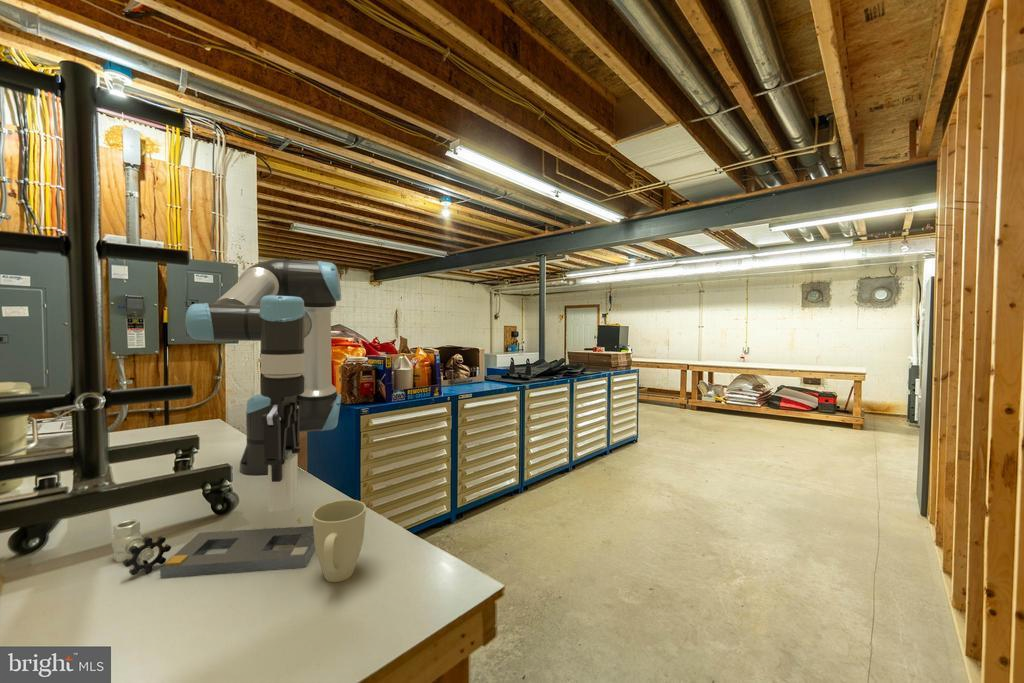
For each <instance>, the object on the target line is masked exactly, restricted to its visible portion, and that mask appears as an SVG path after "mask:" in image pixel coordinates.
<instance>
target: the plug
mask: <svg viewBox="0 0 1024 683" xmlns="http://www.w3.org/2000/svg"><path fill="white" fill-rule="evenodd" d="M298 454H299V453H295V454H292V450H285V462H287V495H286V496H285V497H270V465H268V474H267V485H268V486H267V487H268V489H267V496H268V500H267V502H268V503H267V506H268V509H267V510H268V512H283V511H292V509H293V508H294V507H295V505H296V504H297V503H298V497H299V496H298V492H299V491H298V478H299V477H298V474H299V473H298V471H299V469H298V463H299V462H298Z"/></svg>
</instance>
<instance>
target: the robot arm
mask: <svg viewBox="0 0 1024 683" xmlns="http://www.w3.org/2000/svg"><path fill="white" fill-rule="evenodd" d="M341 290H342V289H341V283H340V277H339V270H338V267H337V266H336V264H334V263H332V262H328V261H320V260H304V259H303V260H301V259H287V258H274V259H269V260H265V261H261V262H258V263H255V264H254V265H251V266H250V267H248V268H246V269H245V270H244V271H243V272H242V273H241V274H240V276H239V278H238V281H237V282H236V284H234V285H233V286H232V287H231V288H230V289H229V290H228V291H226V292H225V293H224V294H223V295H222V296H220V297H219V298H218V299H217V300H216V301H215V302H213V303H209V302H204V303H193V304H190V306H189V307H188V308H187V311H186V314H185V327H186V332H187V335H189V337H190V338H192V339H193V340H196V341H197V340H199V341H210V342H214V341H217V342H219V341H224V342H226V341H229V342H230V341H235V342H236V341H237V342H238V341H239V342H241V341H243V342H244V341H246V342H248V341H252V342H253V341H254V342H255V341H260V357H259V358H258V359H257V360H258V362H259V363H260V373H261V374H262V375H263V376H261V377H260V393H259V394H255V395H252V396H250V397H249V398H248V399H247V402H246V411H245V414H246V421H245V422H246V424H245V425H246V445H245V447H244V450H243V454H242V456H241V459H240V461H239V472H240V473H242V474H244V475H251V476H252V475H253V476H257V475H258V476H259V475H268V465H270V497H285V496H286V495H287V462H285V450H292V454H300V452H301V448H299V447H300V433H301V432H303V433H304V432H323V431H331V430H334V429H336V428H337V426H338V422H339V415H340V409H341V402H342V394H341V393H339V392H338V393H337V387H336V386H334V385H333V384H332V383H333V381H332V380H333V379H332V311H333V310H334V309H335V308H336V307H337V302H340V301H341V300H342V294H341V292H342V291H341Z"/></svg>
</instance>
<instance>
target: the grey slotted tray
mask: <svg viewBox="0 0 1024 683" xmlns="http://www.w3.org/2000/svg"><path fill="white" fill-rule="evenodd" d="M281 545H282V546H283V545H294V546H293V548H287V549H285V548H284V549H272V548H273V546H281ZM223 549H227V550H226V551H225V552H223V553H212V554H205V553H207V551H208V550H223ZM271 549H272V550H271ZM315 551H316V550H315V543H314V530H313V525H309V526H307V525H306V526H292V527H290V526H289V527H275V528H258V529H257V528H256V529H255V528H253V529H241V530H222V531H208V532H207V531H205V532H199V533H198V534H196V535H194V537H193V538H192V539H191V540H190V541H188V542H187V543H186V544H185V545H184V546H182V547H181V549H179V550H178V551H177V552H176V553H175V554H174V555H172V556H171V557H170V558H168V560H166V561H165V563H163V564H161V566H160V567H159V570H160V571H159V572H160V573H159V575H160V576H159V577H160V579H166V578H168V579H169V578H181V577H194V576H209V575H220V574H223V575H224V574H232V573H235V574H237V573H246V572H247V573H249V572H261V571H273V570H286V569H287V570H288V569H299V568H300V569H301V568H306V567H307V565H308V563H309V561H310V560H311V558H312V556H313V554H314V553H315Z"/></svg>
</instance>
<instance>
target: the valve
mask: <svg viewBox="0 0 1024 683" xmlns="http://www.w3.org/2000/svg"><path fill="white" fill-rule="evenodd" d="M112 529H113V533H112V534H113V538H112V541H111V547H112V550H113V560H114V561H116V563H121V562H122V565H123V566H124V567H126V568H129V567H131V566H133V567H132V568H131V569H129V570H128V573H129V575H131V576H136V575H138V574H139V572H140V571H141V570H143V573H144V574H146V575H149V574H151V573H153V571H154V568H153V567H154V566H155V565H156V564H159V565H163V564H165V563H166V562H167V558H166V557H165V556H163V555H164V554H165V553H168V552H170V551H171V550H172V546H171V545H170V544H168V543H166V544H165V545H164V546H163V544H164V543H165V542H166V540H167V538H166V537H165V536H162V535H160V536H157V540H156V541H153V538H152V537H151V536H145V537H144V538H143V537H142V536H143V535H142V533H141V531H140V530H141V522H140V521H139V520H138V519H128V520H127V519H126V520H124V521H121V522H118V523H116V524H115V525H114V526H112ZM156 547H157V548H158V553H157V555H156V557H155V558H154V559H153V560H152V561H151V562H149V560H151V559H152V558H153V557H154V556H155V551H154V549H155V548H156ZM138 559H139V560H141V561H142V564H139V563H138V561H137V560H138Z"/></svg>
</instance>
